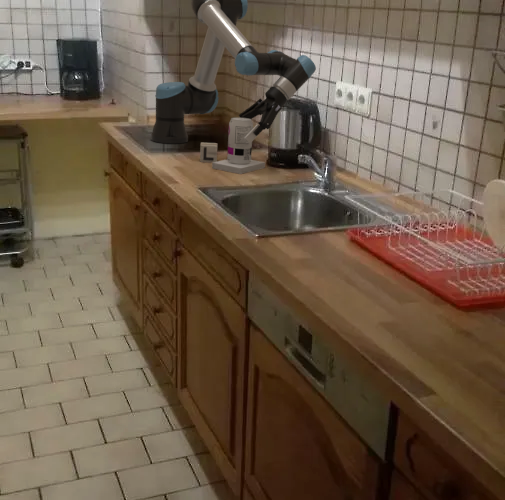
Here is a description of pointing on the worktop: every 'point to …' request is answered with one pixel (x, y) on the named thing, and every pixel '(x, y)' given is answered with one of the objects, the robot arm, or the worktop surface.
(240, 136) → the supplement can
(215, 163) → the grey board
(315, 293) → the worktop surface
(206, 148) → the letter block
